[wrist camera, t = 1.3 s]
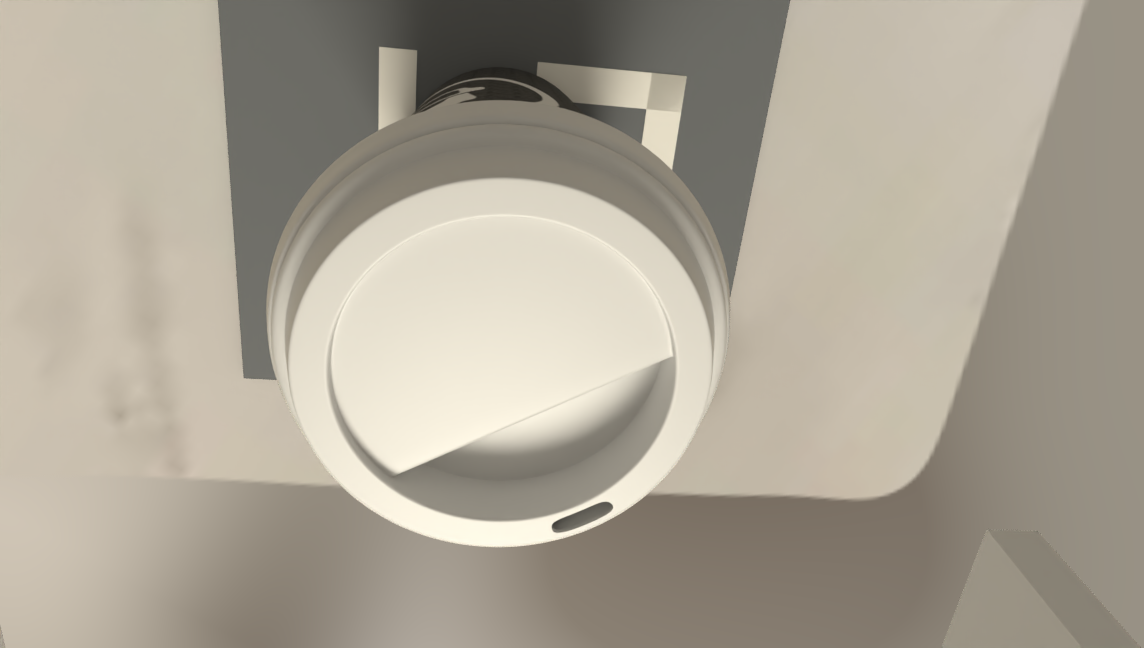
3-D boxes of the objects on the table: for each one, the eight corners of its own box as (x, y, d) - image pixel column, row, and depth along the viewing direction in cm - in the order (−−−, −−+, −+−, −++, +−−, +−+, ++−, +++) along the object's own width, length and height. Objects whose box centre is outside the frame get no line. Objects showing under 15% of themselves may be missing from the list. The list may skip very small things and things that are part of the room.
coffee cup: (378, 299, 31) (290, 597, 18) (337, 24, 27) (182, 142, 14) (638, 283, 32) (743, 559, 18) (637, 10, 28) (773, 111, 14)
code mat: (209, -169, 25) (206, -170, 25) (806, -96, 27) (809, -96, 27) (246, 374, 33) (243, 378, 32) (707, 397, 35) (709, 401, 34)
